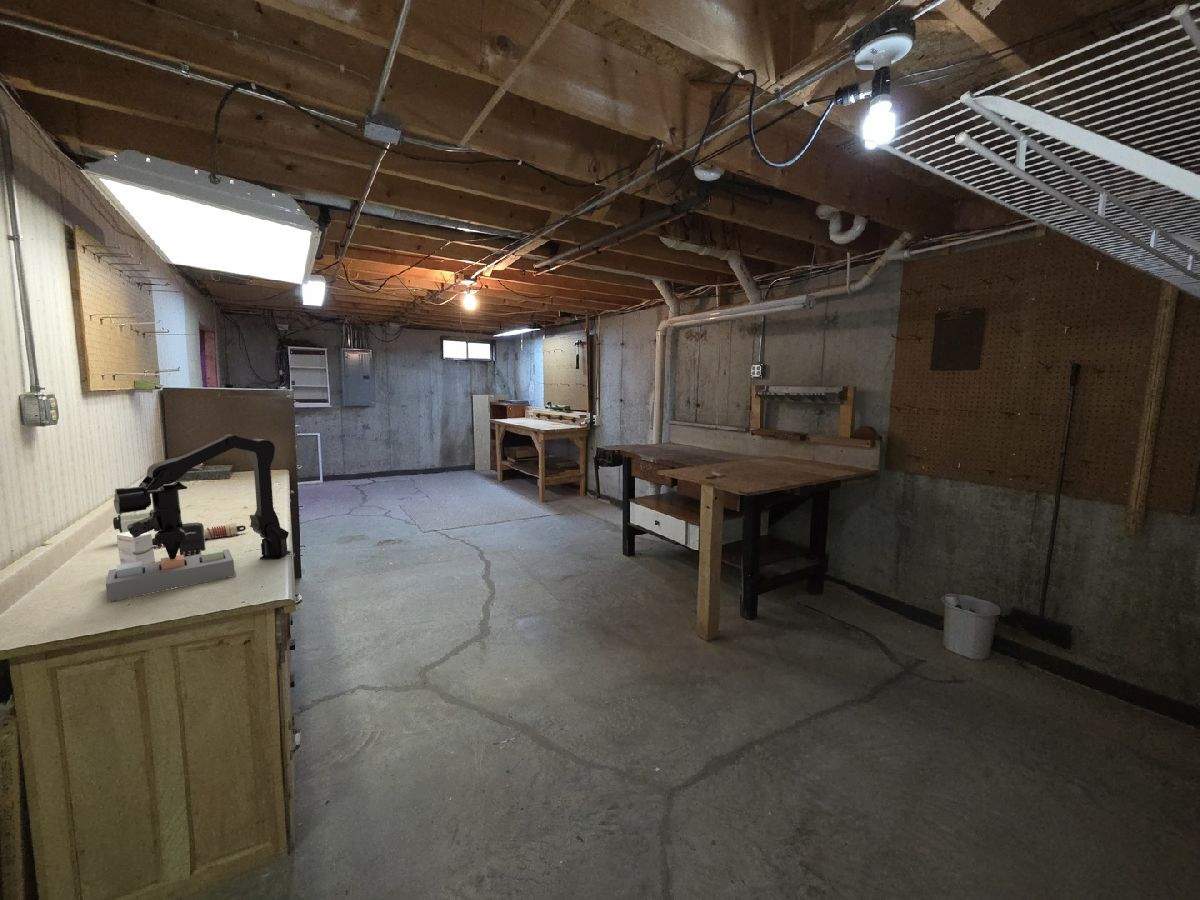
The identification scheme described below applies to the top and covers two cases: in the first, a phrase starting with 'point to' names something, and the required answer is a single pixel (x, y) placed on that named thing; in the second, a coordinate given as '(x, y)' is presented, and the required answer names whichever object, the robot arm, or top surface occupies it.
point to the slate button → (129, 569)
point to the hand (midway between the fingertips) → (172, 558)
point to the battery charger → (193, 539)
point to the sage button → (212, 554)
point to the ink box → (135, 548)
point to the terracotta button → (172, 562)
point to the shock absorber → (217, 532)
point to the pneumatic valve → (129, 519)
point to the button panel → (168, 576)
